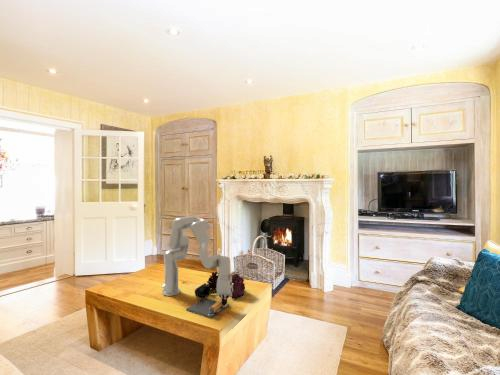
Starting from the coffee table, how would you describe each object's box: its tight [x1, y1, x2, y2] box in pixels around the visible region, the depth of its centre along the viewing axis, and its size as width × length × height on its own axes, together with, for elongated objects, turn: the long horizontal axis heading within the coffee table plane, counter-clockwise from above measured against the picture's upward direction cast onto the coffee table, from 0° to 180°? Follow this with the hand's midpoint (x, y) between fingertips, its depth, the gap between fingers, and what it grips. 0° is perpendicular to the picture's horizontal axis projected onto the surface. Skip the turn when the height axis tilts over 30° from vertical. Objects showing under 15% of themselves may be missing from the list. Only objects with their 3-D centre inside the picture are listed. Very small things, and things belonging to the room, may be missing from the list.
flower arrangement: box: [206, 271, 246, 300], centre depth 192 cm, size 31×20×15 cm, turn 64°
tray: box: [186, 297, 229, 319], centre depth 167 cm, size 20×18×2 cm
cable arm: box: [209, 298, 222, 314], centre depth 164 cm, size 18×3×3 cm, turn 157°
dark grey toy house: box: [194, 282, 212, 299], centre depth 186 cm, size 10×7×7 cm
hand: (224, 304), depth 166 cm, fingers closed
